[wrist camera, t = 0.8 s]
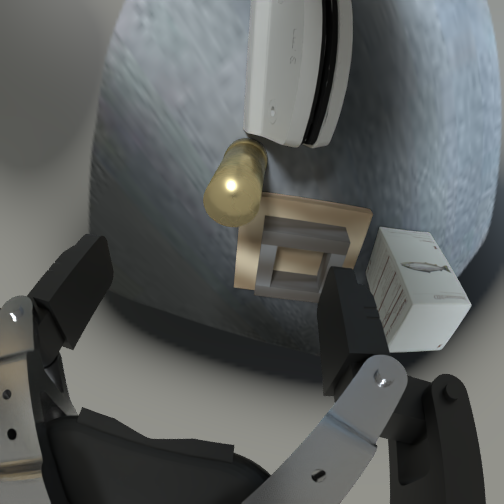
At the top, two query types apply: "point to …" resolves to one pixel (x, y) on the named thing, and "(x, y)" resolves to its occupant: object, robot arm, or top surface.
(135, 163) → the top surface
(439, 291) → the supplement box
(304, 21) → the white black curved block
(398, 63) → the top surface
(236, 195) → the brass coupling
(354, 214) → the socket board
